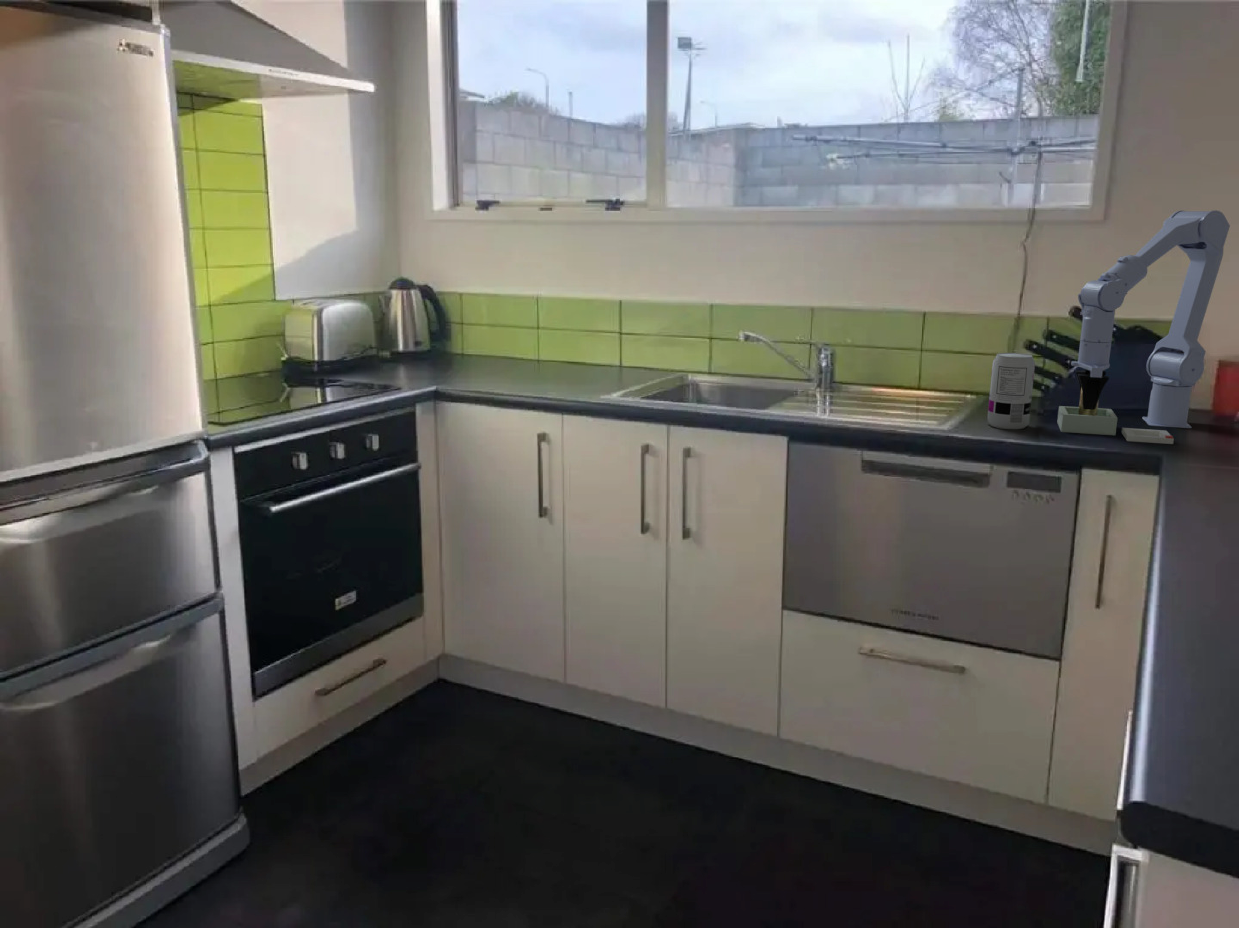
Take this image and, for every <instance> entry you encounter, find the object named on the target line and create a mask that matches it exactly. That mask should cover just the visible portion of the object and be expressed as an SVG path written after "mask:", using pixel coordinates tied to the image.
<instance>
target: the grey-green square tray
mask: <svg viewBox="0 0 1239 928" xmlns="http://www.w3.org/2000/svg"><path fill="white" fill-rule="evenodd" d="M1078 411H1079V406H1065V405H1064V406H1063V405H1059V406H1058V411H1057V422H1056V423H1057V425H1058V428H1059V430H1060V433H1061V432H1062V433H1073V434H1075V433H1077V434H1088V435H1104V436H1105V435H1106V436H1116V434H1117V426H1118V424H1117V423H1118V417H1117V415H1116V413H1114V411H1113V410H1112V409H1111V408H1101V407H1098V410H1097V416H1092V415H1078Z"/></svg>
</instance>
